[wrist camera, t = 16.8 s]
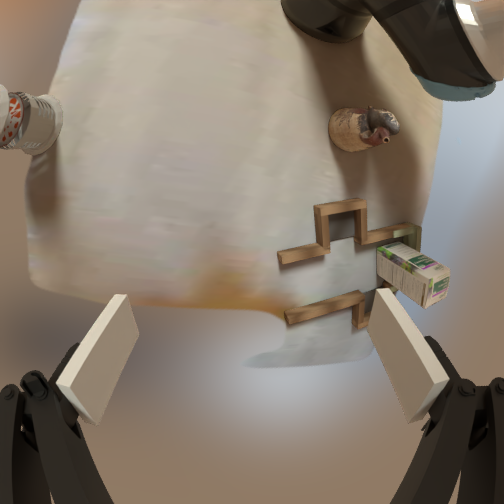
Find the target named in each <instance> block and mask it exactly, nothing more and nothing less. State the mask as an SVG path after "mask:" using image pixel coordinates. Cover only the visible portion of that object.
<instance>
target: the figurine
mask: <svg viewBox="0 0 504 504" xmlns="http://www.w3.org/2000/svg"><path fill="white" fill-rule="evenodd" d="M399 128H400V125H399V123H398V121H397V119H396V118H395V116H394V115H393V114H392V113H391V112H389V111H387V110H386V109H382V110H378V109H374V108H373V107H372V106H368V109H364V108H341V109H339V110H337V111H336V112H335V113H334V114H333V115H332V116H331V118H330V121H329V127H328V129H329V134H330V137H331V139H332V141H333V142H334V144H335V145H336V146H338V147H339V148H341V149H343V150H345V151H349V152H356V151H361V150H365V149H368V148H372V147H375V146H377V145H379V144H381V143H383V142H384V143H388V142H390V139H389V136H391V135H395V134H397V133H398V132H399Z"/></svg>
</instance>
